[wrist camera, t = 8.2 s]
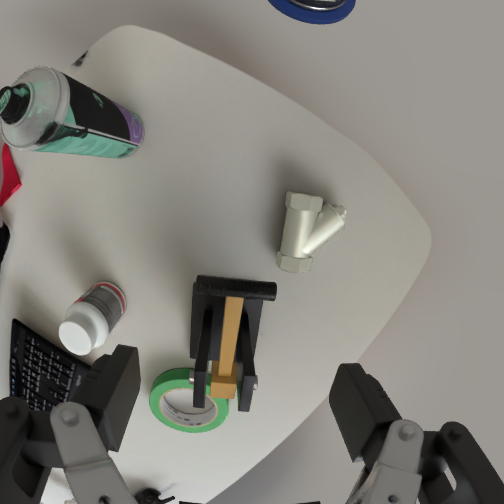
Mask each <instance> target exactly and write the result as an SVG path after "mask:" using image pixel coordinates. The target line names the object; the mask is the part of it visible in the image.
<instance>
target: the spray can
mask: <svg viewBox="0 0 504 504" xmlns="http://www.w3.org/2000/svg"><path fill="white" fill-rule="evenodd" d="M0 130H1V135H2V137H3V139H4V141H5V142H6V143H7V144H8V145H9V146H10V147H12V148H16V149H19V150H23V151H39V152H54V153H67V154H79V155H89V156H99V157H108V158H118V159H119V158H126V157H129V156H130V155H132V154H134V153H135V152H136V151H137V150H138V148H139V147H140V145H141V144H142V141H143V139H144V126H143V123H142V121H141V120H140V118H139V117H138V116H136V115H135V114H134V113H132V112H130V111H129V110H127V109H125V108H124V107H122V106H120V105H119V104H117V103H115V102H113V101H112V100H110V99H108V98H107V97H105V96H103V95H101V94H100V93H98V92H96V91H94V90H93V89H91V88H89V87H87V86H85V85H84V84H82V83H80V82H78V81H76V80H75V79H73V78H71V77H69V76H67V75H65V74H63V73H62V72H60V71H58V70H55V69H53V68H48V67H45V66H38V67H34V68H31V69H29V70H28V71H26V72H24V73H23V74H22V75H21V76H20V77H19V78H17V80H16V81H15V82H14V83H13V84H12V86H11V87H9V86H6V87H4V88H2V89H1V90H0Z"/></svg>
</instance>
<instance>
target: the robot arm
mask: <svg viewBox="0 0 504 504" xmlns="http://www.w3.org/2000/svg"><path fill="white" fill-rule="evenodd" d="M286 1H287V2H289V3H291V4H292V5H294V6H296V7H299V8H301V9H304V10H308V11H312V12H331V11H335V10H337V9H339V8H341V7H342V6H343V5H344V4H345V2H346V1H347V0H286ZM140 382H141V377H140V367H139V356H138V349H137V347H131V346H126V345H121V344H118V345H117V347H116V348H115V350H114V352H113V353H112V355H107V354H104V355H103V356H101V357H100V358H98V359H97V360H95V362H94V363H93V365H92V367H91V368H90V370H89V371H88V373H87V375H86V377H85V378H84V379H83V381H82V383H81V384H80V386H79V388H78V389H77V391H76V393H75V394H74V396H73V398H72V399H71V401H70V402H64V403H61V404H59V405H57V406H56V407H54V408H53V410H52V411H51V412H47V411H36V410H30V409H29V407H28V405H27V403H26V402H25V401H24V400H23V399H21V398H19V397H6V398H4V399H2V400H0V504H39V503H40V500H41V497H42V494H43V491H44V488H45V485H46V483H47V480H48V477H49V474H50V472H51V469H52V467H55V468H63V469H64V473H65V476H66V479H67V481H68V484H69V486H70V489H71V491H72V493H73V496H74V498H75V500H76V503H77V504H138V503H137V501H136V499H135V498H134V496H133V495H132V493H131V491H130V490H129V488H128V487H127V485H126V483H125V481H124V480H123V478H122V476H121V475H120V473H119V471H118V469H117V467H116V465H115V464H114V462H113V460H112V458H111V457H109V455H108V451H109V450H111V451H115V452H118V451H119V448H120V445H121V442H122V439H123V436H124V433H125V430H126V427H127V424H128V421H129V418H130V416H131V413H132V410H133V407H134V404H135V402H136V399H137V396H138V393H139V390H140ZM387 396H388V395H387V394H386V392H385V391H383V388H382V386H381V385H380V383H379V382H378V380H376V379H375V378H373V377H372V376H371V375H370V374H366V373H365V371H364V370H363V368H362V367H361V365H360V364H359V363H343V364H340V366H339V367H338V370H337V373H336V376H335V379H334V382H333V384H332V387H331V390H330V393H329V403H330V407H331V409H332V412H333V414H334V417H335V419H336V422H337V424H338V427H339V429H340V431H341V434H342V437H343V439H344V442H345V444H346V447H347V449H348V452H349V454H350V457H351V459H352V462H353V463H354V462H360V461H364V463H365V466H364V468H363V469H362V471H361V473H360V475H359V478H358V480H357V482H356V484H355V486H354V488H353V490H352V492H351V494H350V496H349V498H348V500H347V502H346V503H345V504H416V500H417V497H418V499H419V502H420V504H504V484H503V482H502V480H501V479H500V477H499V476H498V474H497V472H496V471H495V469H494V468H493V466H492V465H491V463H490V462H489V460H488V459H487V457H486V455H485V454H484V453H483V451H482V450H481V448H480V447H479V445H478V444H477V442H476V441H475V439H474V438H473V436H472V435H471V433H470V432H469V431H468V429H467V428H466V427H465V426H464V425H462V424H460V423H458V422H447V423H445V424H444V425H443V426H442V428H441V429H440V431H437V432H436V431H423V430H422V428H421V427H420V426H419V425H418V424H417V423H415V422H413V421H411V420H406V419H402V417H401V416H400V414H399V413H398V411H397V409H396V408H395V406H394V405H393V403H392V402H391V400H390V398H389V397H387ZM447 467H449V469H450V470H451V472H452V474H453V476H454V478H455V480H456V483H457V486H456V489H455V491H454V490H453V488H452V486H451V484H450V482H449V480H448V479H447V477H446V475H445V473H444V471H445V469H446V468H447ZM179 504H200V503H191V502H182V501H179ZM299 504H320V501H317V502H309V503H299Z"/></svg>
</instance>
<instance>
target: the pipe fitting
mask: <svg viewBox="0 0 504 504" xmlns="http://www.w3.org/2000/svg"><path fill="white" fill-rule="evenodd" d="M322 203H323V198H322V197H319V196H314V195H309V194H303V193H297V192H287V195H286V201H285V205H286V207H287V211H286V217H285V223H284V230H283V236H282V242H281V248H280V250H279V251H278V252H277V258H276V265H277V266H278V268H280V269H282V270H284V271H288V272H293V273H306V272H309V271H310V269H311V264H312V257H311V256H310V255H311V254H313V253H314V252H315V251H316V250H318V249H319V248H320V247H321V246H323V245H324V244H325V243H326V242H328V241H329V240H330V239H331V238H333V237H334V236H335V235H336V234H338V233H339V232H340V231H341V230H342V229H344V228H345V222H344V220H345V219H346V215H345V213H346V212H347V211H346V209H345V208H344V207H343V206H340V207H339V206H337V205H334V206H332V205H330V204H328V203H326V204H325V205H324V206H322Z"/></svg>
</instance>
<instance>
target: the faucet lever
mask: <svg viewBox="0 0 504 504" xmlns="http://www.w3.org/2000/svg"><path fill="white" fill-rule="evenodd" d="M195 292H196V294H204V295H214V296H223V297H226V301H225V310H224V319H223V328H222V337H221V346H220V355H219V361H212V372H211V385H210V397H213V398H224V399H234V396H235V391H236V386H237V363H236V362H233V360H234V354H235V348H236V342H237V336H238V330H239V324H240V318H241V313H242V307H243V301H244V299H255V300H266V301H275V298H276V294H277V284H276V283H275V282H265V281H255V280H245V279H235V278H225V277H216V276H206V275H197V279H196V288H195Z"/></svg>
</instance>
